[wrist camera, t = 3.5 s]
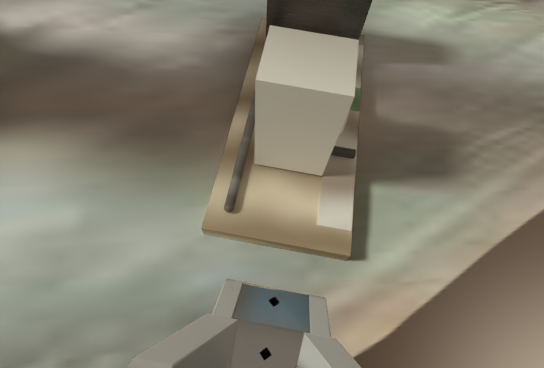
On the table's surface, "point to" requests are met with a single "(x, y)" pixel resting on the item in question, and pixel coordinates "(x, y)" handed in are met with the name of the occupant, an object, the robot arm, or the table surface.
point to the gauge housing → (303, 99)
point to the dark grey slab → (319, 16)
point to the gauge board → (283, 185)
